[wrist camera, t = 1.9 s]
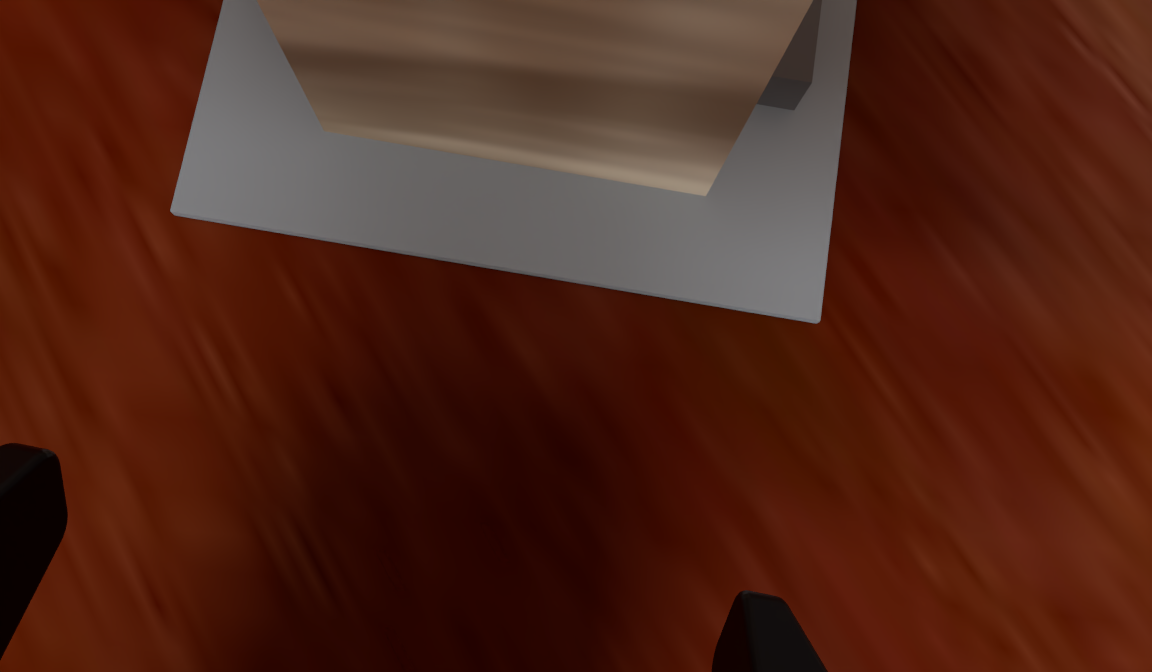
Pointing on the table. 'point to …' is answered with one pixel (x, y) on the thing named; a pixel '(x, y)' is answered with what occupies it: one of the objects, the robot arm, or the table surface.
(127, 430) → the table surface
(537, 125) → the t block
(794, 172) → the t bay
